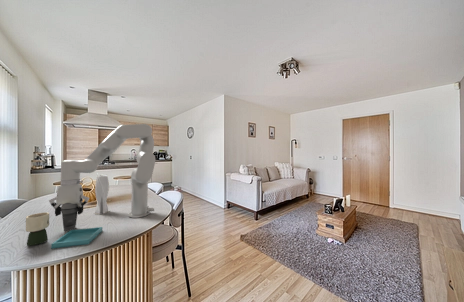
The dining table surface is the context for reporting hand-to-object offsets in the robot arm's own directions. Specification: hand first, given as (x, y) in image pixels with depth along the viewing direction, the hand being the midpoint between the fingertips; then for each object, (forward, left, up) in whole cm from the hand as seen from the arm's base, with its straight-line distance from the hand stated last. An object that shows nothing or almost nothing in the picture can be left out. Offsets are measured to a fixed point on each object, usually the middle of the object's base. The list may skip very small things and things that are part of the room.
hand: (69, 214), depth 92 cm
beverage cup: (0, 0, -8) cm, 8 cm away
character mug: (+5, +14, -8) cm, 17 cm away
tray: (-11, +14, -8) cm, 20 cm away
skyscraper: (-5, -25, -9) cm, 27 cm away
